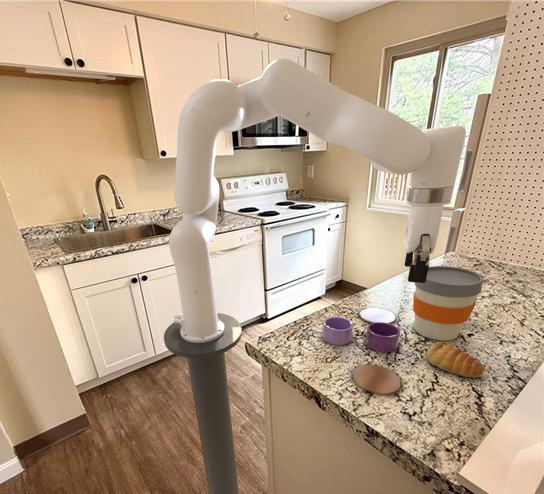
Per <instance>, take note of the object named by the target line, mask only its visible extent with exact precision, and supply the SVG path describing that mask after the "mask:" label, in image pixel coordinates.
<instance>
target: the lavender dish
mask: <svg viewBox="0 0 544 494" xmlns="http://www.w3.org/2000/svg"><path fill="white" fill-rule="evenodd" d="M322 324H323V325H322V339H323V340H324V341H325V342H327V343H329V344H330V345H331V344H332V345H335V346H344V345H347V344H350V343H351V342H352V339H353V328H354V323H353V322H352V320H350V319H348V318H345V317H341V316H330V317H326V319H324V321H323V323H322Z"/></svg>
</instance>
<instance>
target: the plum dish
mask: <svg viewBox="0 0 544 494" xmlns="http://www.w3.org/2000/svg"><path fill="white" fill-rule="evenodd" d="M400 337H401V329H400V328H399V327H398V326H396V325H394V324H393V323H390V324H389V323H384V322H374V323H369V324H368V325H367V327H366V335H365V344H366V346H367V347H368V348H369V349H370V350H373V351H376V352H379V353H392V352H395V351H396V350H398V346H399V342H400Z"/></svg>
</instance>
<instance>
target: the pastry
mask: <svg viewBox="0 0 544 494" xmlns="http://www.w3.org/2000/svg"><path fill="white" fill-rule="evenodd" d="M425 358H426V360H427V361H428V362H429V363H430V364H431V365H433V366H436V367H438V368H439V369H440V370H443V371H446V372H449V373H451V374H455V375H458V376H459V377H460V376H461V377H466V378H474V379H475V378H480V377H481V376H482V375H483V373H484V372H485V367H484V366H483V364H482V363H481V362H480V361H478V359H477V358H475V357H473V356H472V355H471V354H470V353H469V352H464V351H463V350H462V348H460V347H455V346H454V345H452V344H445V343H443V342H442V341H441V342H440V341H437V342H435V343H434V344H433V345H432V346H431V347H430V348H429V350H428V352H427V353H426V355H425Z"/></svg>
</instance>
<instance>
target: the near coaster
mask: <svg viewBox="0 0 544 494" xmlns="http://www.w3.org/2000/svg"><path fill="white" fill-rule="evenodd" d="M352 380H353V381H354V383H355V384H356V385H357V386H358V387H359V388H361V389H362V390H364V391H366V392H369V393H372V394H375V395H391V394H394V393H396V392H398V391H399V390H400V388H401V386H402V383H401V380H400V378H399V376H398V375H397V374H396V373H395V372H394V371H392V370H390V369H388V368H386V367H383V366H380V365H375V364H364V365H363V364H362V365H360V366H357V367H356V368H354V370H353V371H352Z"/></svg>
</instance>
